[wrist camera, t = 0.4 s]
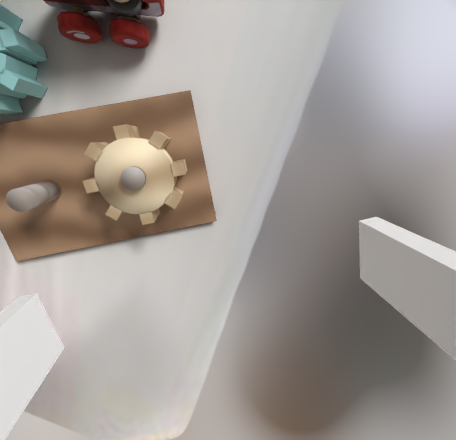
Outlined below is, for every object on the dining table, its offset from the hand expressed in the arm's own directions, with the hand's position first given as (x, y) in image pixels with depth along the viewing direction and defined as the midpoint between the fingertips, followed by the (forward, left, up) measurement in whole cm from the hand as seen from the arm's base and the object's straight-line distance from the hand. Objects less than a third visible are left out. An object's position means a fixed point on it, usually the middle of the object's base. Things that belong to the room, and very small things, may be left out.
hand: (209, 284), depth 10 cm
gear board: (-3, -13, -26) cm, 29 cm away
